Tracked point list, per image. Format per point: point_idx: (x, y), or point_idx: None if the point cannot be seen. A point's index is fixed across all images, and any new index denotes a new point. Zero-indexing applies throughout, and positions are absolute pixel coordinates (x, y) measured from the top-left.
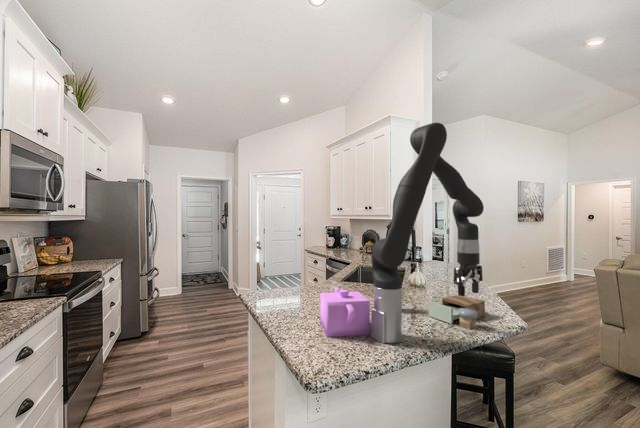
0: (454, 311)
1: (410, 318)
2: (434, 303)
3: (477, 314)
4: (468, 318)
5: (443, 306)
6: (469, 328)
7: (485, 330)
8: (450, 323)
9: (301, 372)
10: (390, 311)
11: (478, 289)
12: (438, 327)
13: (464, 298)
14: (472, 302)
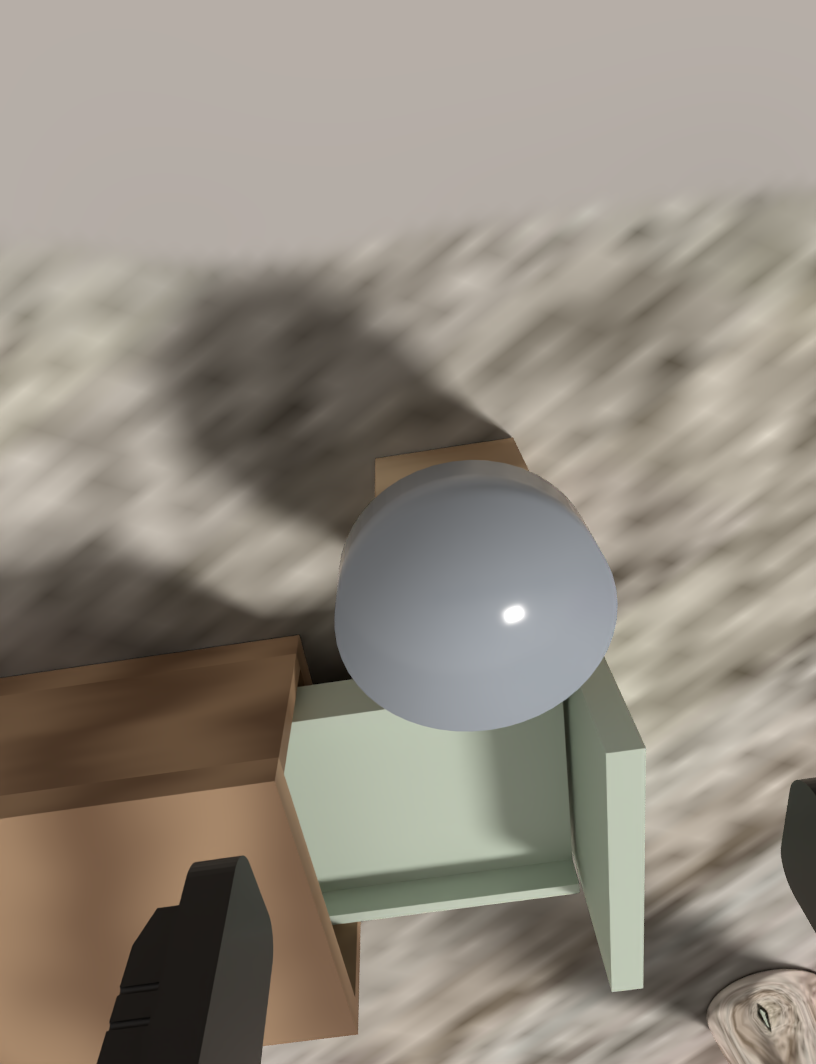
0: (316, 813)
1: None
2: (642, 931)
3: (401, 501)
4: (565, 497)
5: (642, 834)
6: (514, 444)
7: (348, 342)
8: None
9: None
10: None
11: (170, 949)
12: (786, 593)
13: (49, 980)
14: (75, 849)
